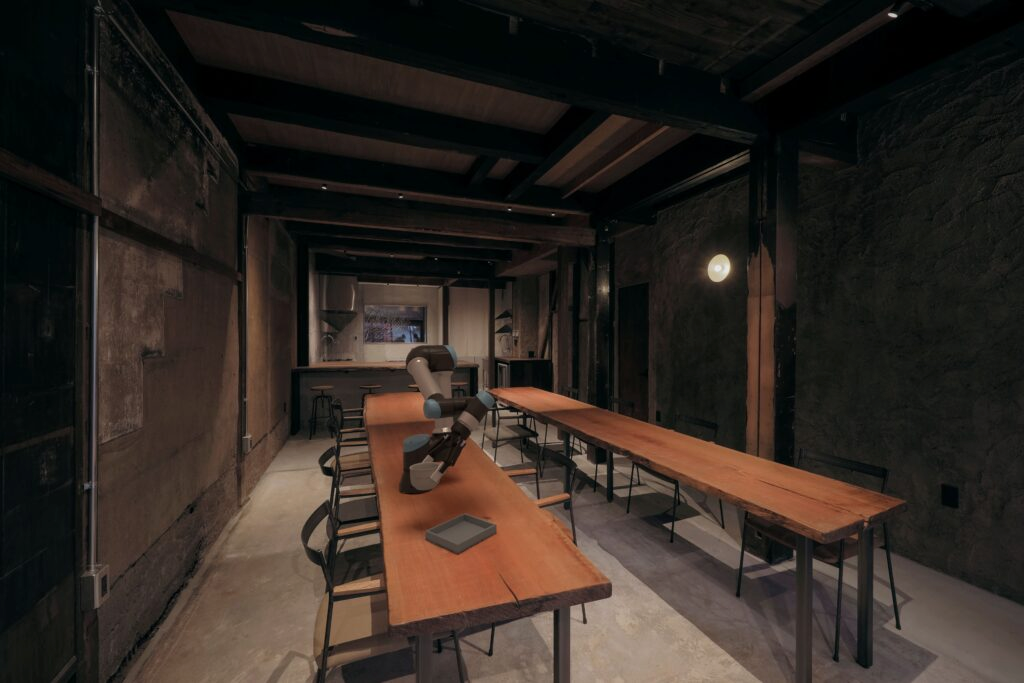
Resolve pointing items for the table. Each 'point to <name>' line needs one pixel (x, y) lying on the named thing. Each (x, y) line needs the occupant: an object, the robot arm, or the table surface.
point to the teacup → (424, 475)
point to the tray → (460, 533)
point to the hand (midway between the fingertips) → (426, 475)
